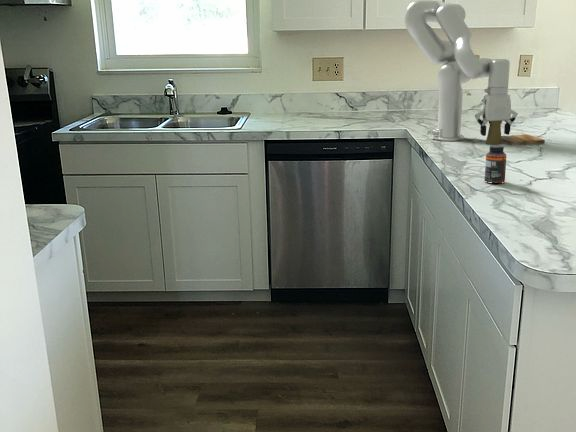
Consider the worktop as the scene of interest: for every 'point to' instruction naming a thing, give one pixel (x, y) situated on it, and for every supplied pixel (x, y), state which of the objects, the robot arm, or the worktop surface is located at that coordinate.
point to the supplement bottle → (495, 164)
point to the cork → (494, 133)
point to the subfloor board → (521, 140)
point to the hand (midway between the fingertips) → (495, 134)
